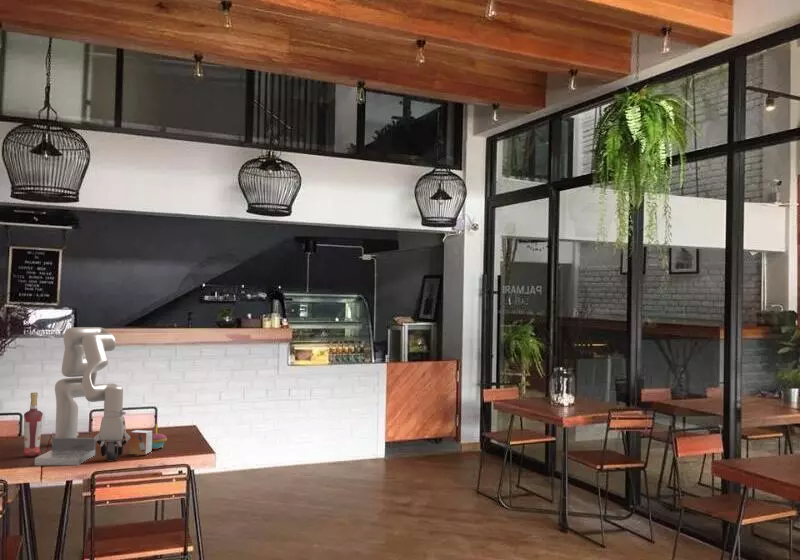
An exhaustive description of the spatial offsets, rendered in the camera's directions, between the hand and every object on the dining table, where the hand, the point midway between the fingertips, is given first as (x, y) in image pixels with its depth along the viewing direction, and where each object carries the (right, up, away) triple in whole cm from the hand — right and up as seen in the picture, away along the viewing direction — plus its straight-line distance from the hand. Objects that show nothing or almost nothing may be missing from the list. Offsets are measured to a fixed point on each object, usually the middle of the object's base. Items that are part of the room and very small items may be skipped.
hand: (111, 455), depth 293 cm
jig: (-19, -2, -2) cm, 19 cm away
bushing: (0, -2, 0) cm, 2 cm away
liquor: (-37, -2, +4) cm, 38 cm away
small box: (+8, -3, +11) cm, 14 cm away
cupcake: (+11, -3, +24) cm, 27 cm away
